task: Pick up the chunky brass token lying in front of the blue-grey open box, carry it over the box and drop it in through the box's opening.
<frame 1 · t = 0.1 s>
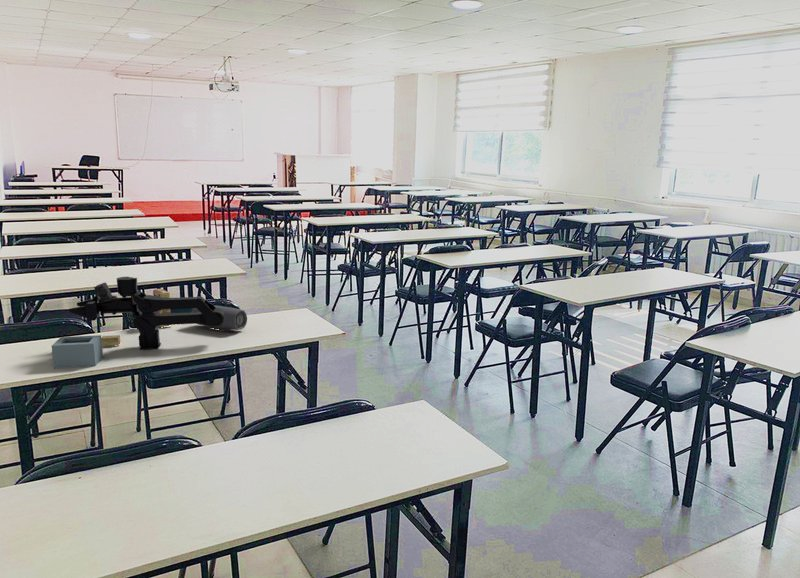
hand: (73, 307, 219), 17 cm above the table, tool horizontal, fingers open, 9 cm apart
candy box: (163, 326, 256), on the table
blue-grey open box: (79, 362, 210), on the table
brass token: (111, 345, 229), on the table
bluetooth speaker: (219, 329, 253), on the table
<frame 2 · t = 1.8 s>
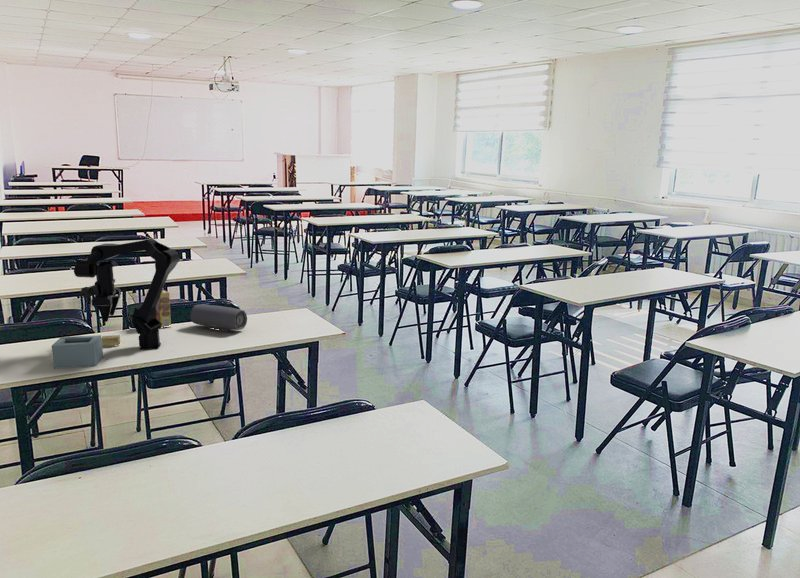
hand: (108, 318, 227), 10 cm above the table, tool pointing down, fingers open, 9 cm apart
nothing on the table moved.
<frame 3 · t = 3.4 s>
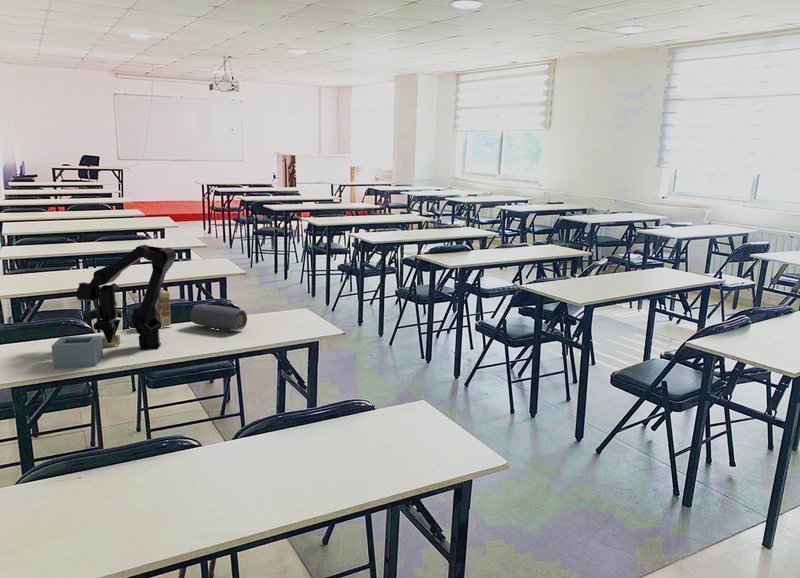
hand: (110, 341, 229), 2 cm above the table, tool pointing down, fingers closed on brass token, 3 cm apart
brass token: (111, 345, 229), on the table, touching gripper
everything else where it was.
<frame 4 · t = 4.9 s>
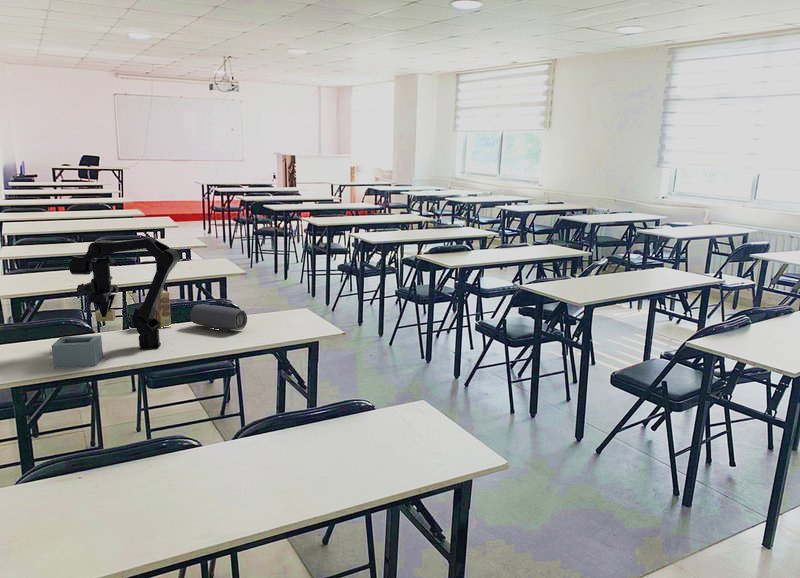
hand: (105, 315, 225), 12 cm above the table, tool pointing down, fingers closed on brass token, 3 cm apart
brass token: (105, 319, 225), point 10 cm above the table, touching gripper
everything else where it was.
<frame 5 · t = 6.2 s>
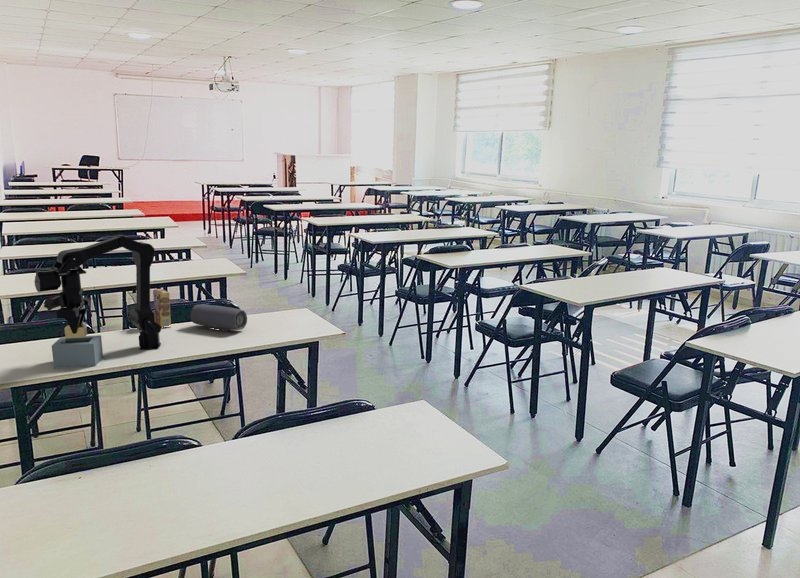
hand: (76, 331, 208), 11 cm above the table, tool pointing down, fingers closed on brass token, 3 cm apart
brass token: (76, 336, 208), point 9 cm above the table, touching gripper
everything else where it was.
when the fingers open (10 cm above the table, at t = 6.9 s): brass token drops 9 cm, resting in blue-grey open box.
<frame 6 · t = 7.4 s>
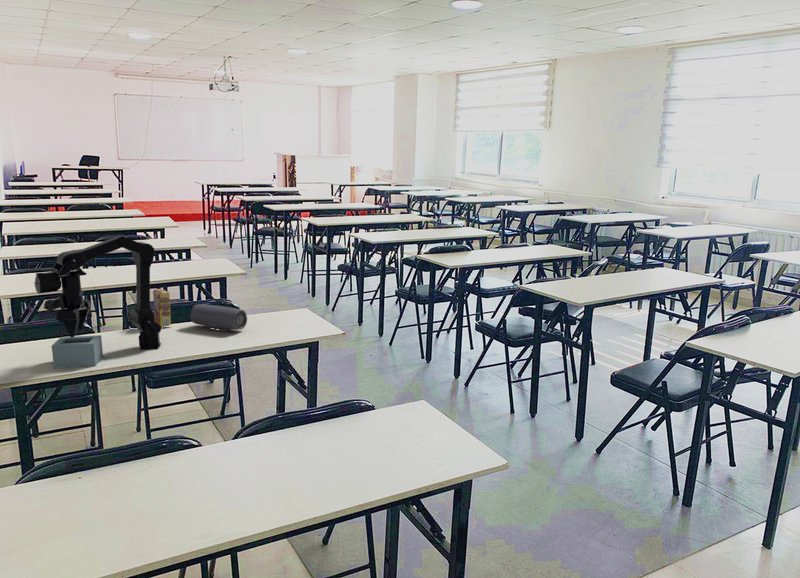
hand: (76, 333, 208), 10 cm above the table, tool pointing down, fingers open, 9 cm apart
brass token: (79, 362, 210), resting in blue-grey open box
everything else where it was.
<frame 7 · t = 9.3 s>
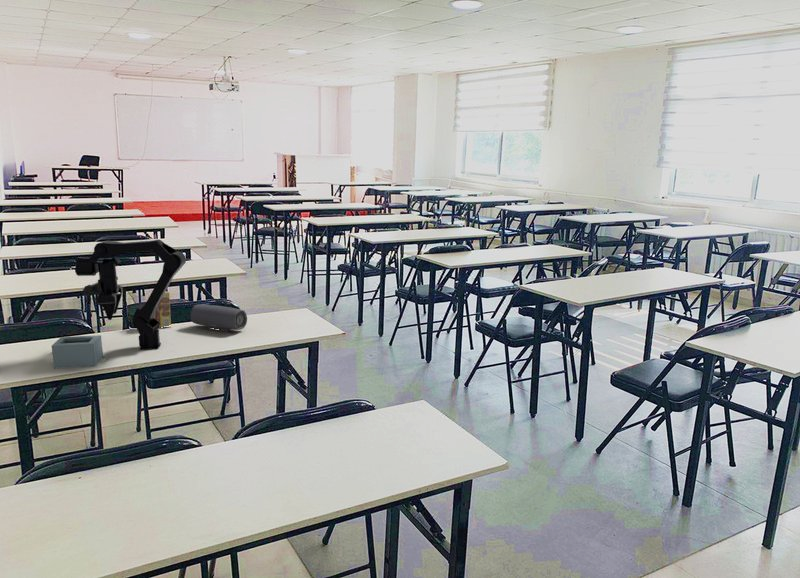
hand: (112, 316, 224), 12 cm above the table, tool pointing down, fingers open, 9 cm apart
nothing on the table moved.
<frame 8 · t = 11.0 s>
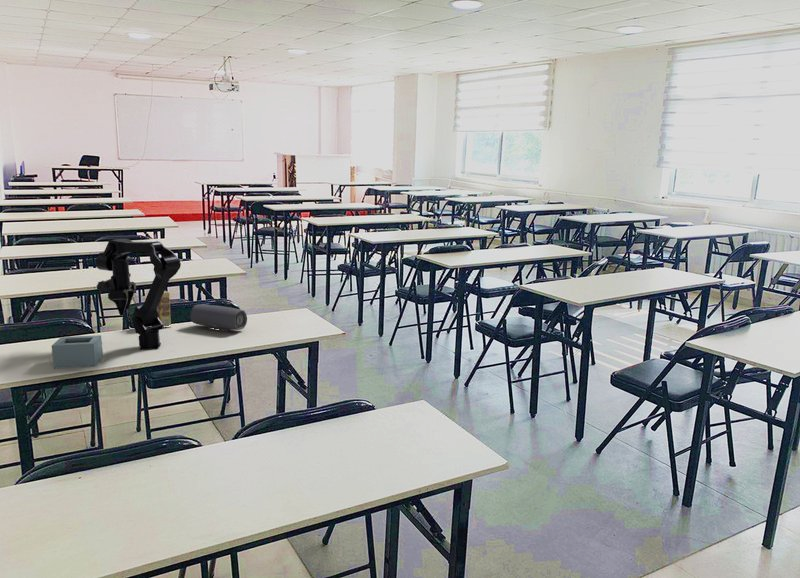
hand: (124, 312, 231), 12 cm above the table, tool pointing down, fingers open, 9 cm apart
nothing on the table moved.
at the end: brass token inside the target area on the blue-grey open box (0.1 cm from its centre), point 0.0 cm above the blue-grey open box's base; the gripper is holding nothing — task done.
